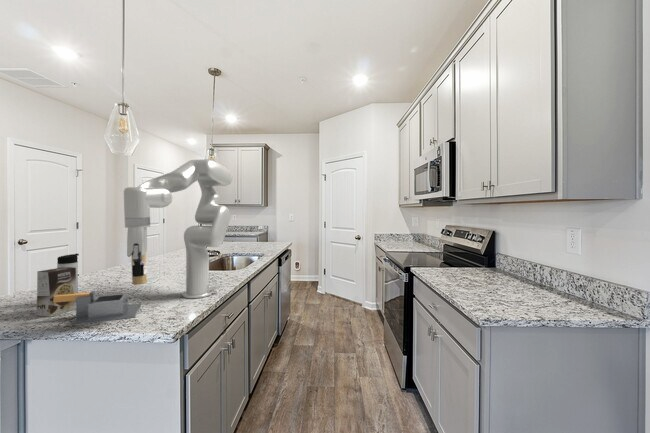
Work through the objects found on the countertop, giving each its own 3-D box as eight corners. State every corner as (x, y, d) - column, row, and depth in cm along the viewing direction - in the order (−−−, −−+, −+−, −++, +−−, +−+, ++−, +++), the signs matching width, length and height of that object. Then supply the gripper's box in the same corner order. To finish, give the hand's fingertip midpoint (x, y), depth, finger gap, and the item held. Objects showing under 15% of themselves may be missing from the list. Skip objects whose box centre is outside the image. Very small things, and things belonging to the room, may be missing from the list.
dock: (141, 305, 117) (141, 286, 117) (135, 317, 104) (135, 295, 104) (84, 311, 109) (84, 290, 109) (71, 325, 97) (71, 301, 97)
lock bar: (95, 297, 106) (95, 290, 106) (93, 299, 104) (93, 292, 104) (56, 301, 101) (56, 293, 101) (53, 303, 99) (53, 295, 99)
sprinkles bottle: (138, 285, 100) (137, 247, 99) (128, 284, 101) (127, 246, 100) (150, 282, 104) (149, 245, 104) (140, 281, 106) (139, 244, 105)
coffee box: (51, 317, 103) (50, 272, 103) (36, 315, 104) (35, 271, 104) (76, 308, 112) (76, 267, 112) (62, 307, 113) (62, 266, 113)
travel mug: (80, 303, 119) (80, 254, 118) (58, 307, 114) (58, 256, 113) (77, 299, 123) (77, 252, 122) (56, 303, 118) (56, 254, 118)
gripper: (129, 221, 108) (131, 270, 109) (119, 225, 92) (121, 281, 93) (152, 220, 111) (154, 268, 112) (147, 224, 95) (148, 279, 97)
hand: (139, 273), depth 103 cm, fingers closed on sprinkles bottle, 4 cm apart
